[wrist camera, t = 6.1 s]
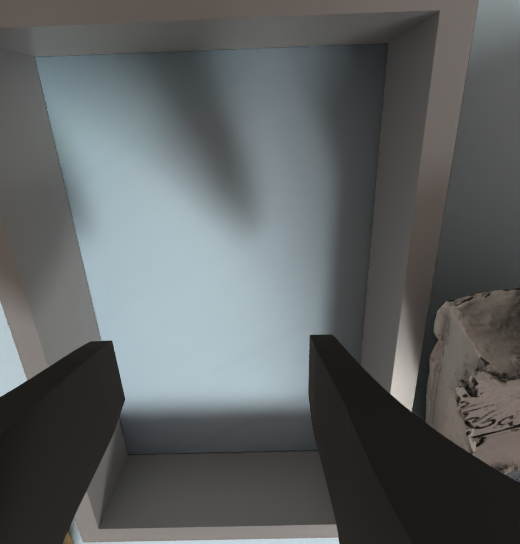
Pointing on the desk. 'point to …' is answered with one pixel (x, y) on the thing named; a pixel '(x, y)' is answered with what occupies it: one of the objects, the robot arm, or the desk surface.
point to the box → (383, 250)
